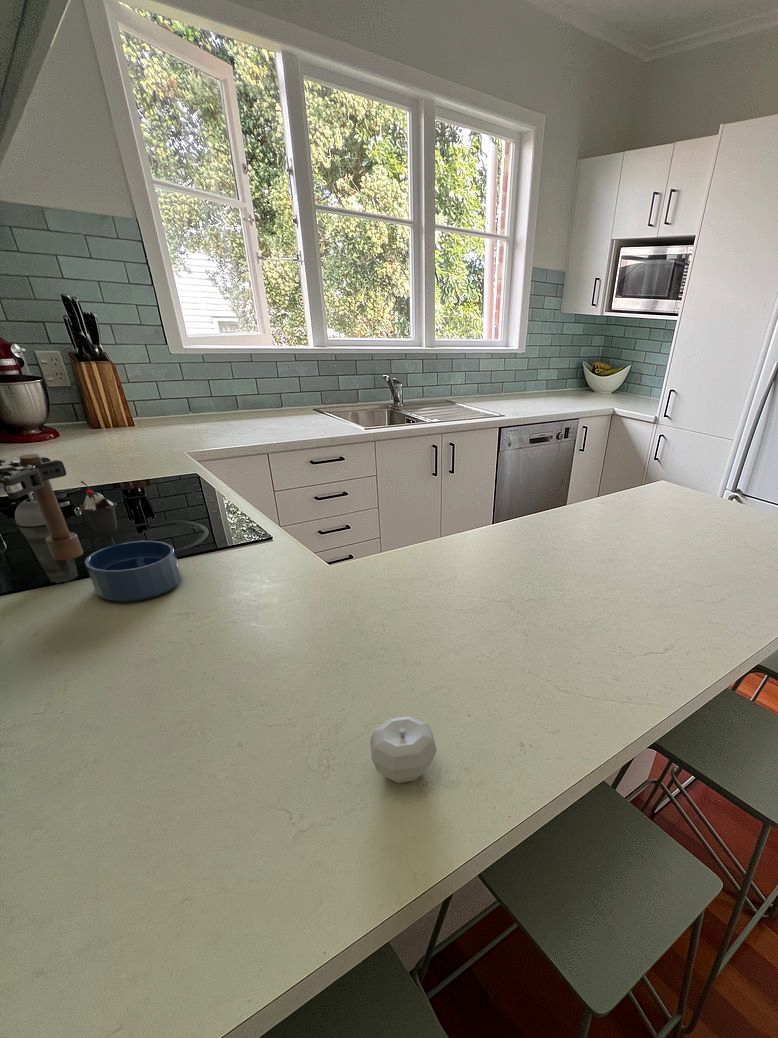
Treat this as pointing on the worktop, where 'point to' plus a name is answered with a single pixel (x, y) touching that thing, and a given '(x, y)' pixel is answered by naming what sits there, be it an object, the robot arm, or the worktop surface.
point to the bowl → (133, 570)
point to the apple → (402, 748)
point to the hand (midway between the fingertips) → (56, 465)
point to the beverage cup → (42, 541)
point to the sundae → (100, 514)
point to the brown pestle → (54, 518)
